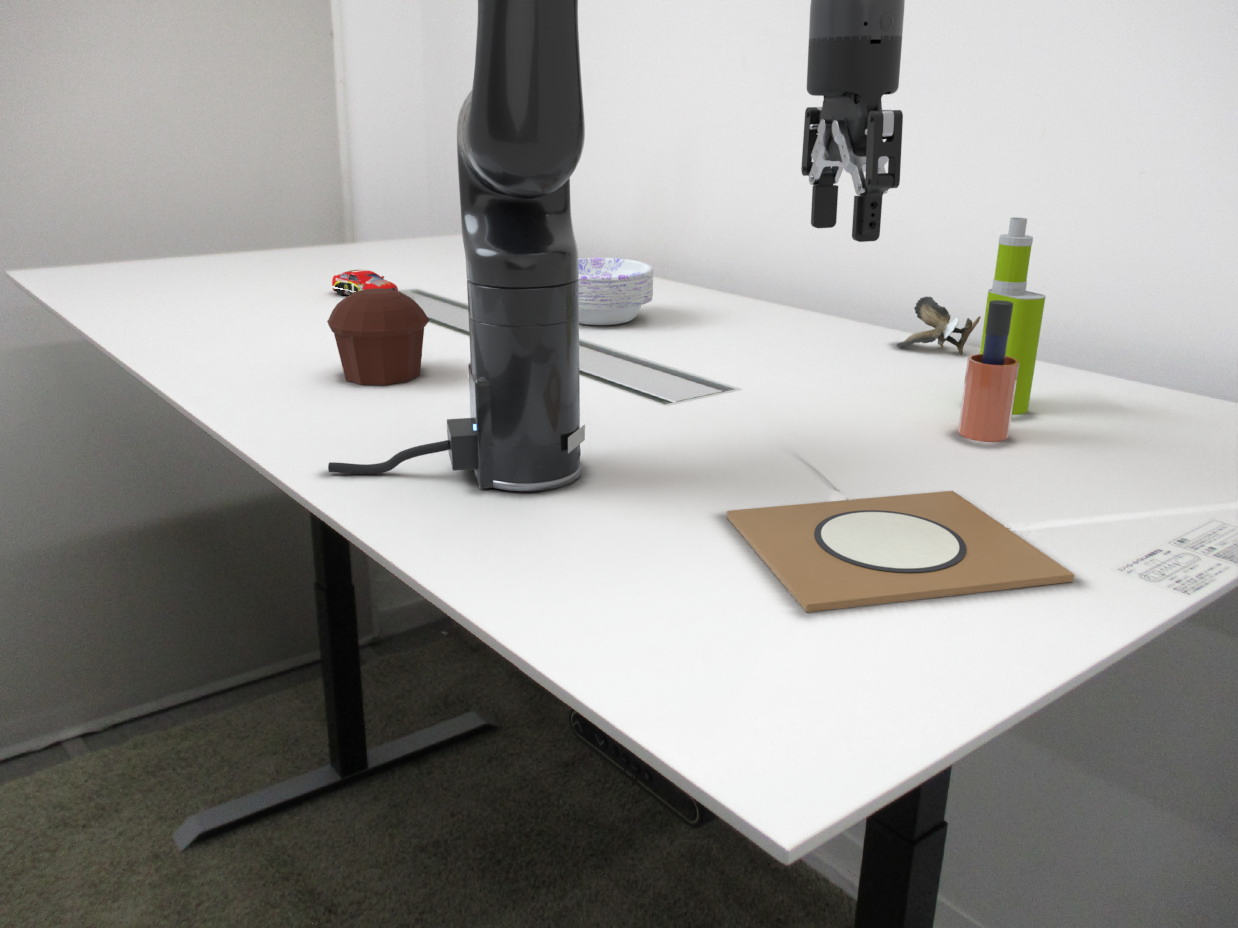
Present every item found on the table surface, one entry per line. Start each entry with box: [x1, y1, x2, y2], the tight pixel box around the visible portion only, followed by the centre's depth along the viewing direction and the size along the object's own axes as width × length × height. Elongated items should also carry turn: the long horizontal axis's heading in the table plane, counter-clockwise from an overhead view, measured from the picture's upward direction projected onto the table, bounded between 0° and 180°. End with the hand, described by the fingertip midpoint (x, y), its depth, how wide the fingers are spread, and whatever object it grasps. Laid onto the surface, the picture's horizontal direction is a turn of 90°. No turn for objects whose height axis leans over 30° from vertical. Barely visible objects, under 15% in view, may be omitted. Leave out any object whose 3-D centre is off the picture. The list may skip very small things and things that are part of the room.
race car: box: [331, 269, 399, 296], centre depth 164 cm, size 13×5×4 cm, turn 50°
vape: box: [979, 217, 1046, 416], centre depth 104 cm, size 4×6×20 cm, turn 27°
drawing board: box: [726, 490, 1075, 613], centre depth 75 cm, size 20×16×1 cm
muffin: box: [326, 288, 430, 386], centre depth 118 cm, size 12×11×10 cm
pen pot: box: [957, 353, 1019, 443], centre depth 98 cm, size 5×5×8 cm
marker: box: [982, 300, 1013, 365], centre depth 97 cm, size 2×2×13 cm
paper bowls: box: [579, 257, 654, 326], centre depth 148 cm, size 15×15×8 cm
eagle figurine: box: [896, 296, 981, 356], centre depth 132 cm, size 8×7×9 cm
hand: (843, 234), depth 88 cm, fingers open, 8 cm apart
